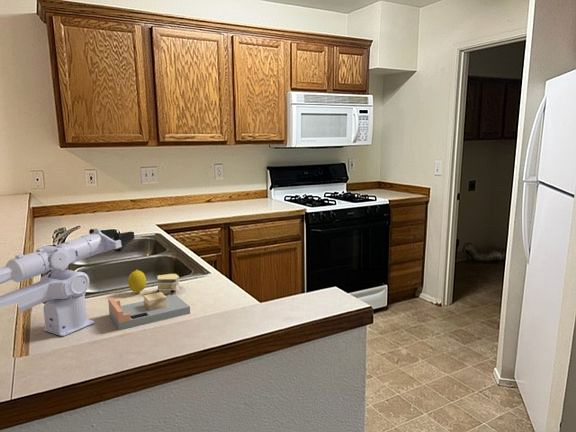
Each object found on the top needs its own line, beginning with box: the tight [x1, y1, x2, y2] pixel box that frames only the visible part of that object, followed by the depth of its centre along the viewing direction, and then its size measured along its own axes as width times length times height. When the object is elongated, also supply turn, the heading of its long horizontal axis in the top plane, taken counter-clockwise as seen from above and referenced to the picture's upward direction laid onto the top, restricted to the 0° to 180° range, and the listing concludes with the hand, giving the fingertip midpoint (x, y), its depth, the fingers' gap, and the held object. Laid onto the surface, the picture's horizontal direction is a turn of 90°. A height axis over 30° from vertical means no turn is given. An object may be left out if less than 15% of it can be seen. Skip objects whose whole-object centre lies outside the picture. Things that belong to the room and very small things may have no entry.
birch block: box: [143, 292, 167, 311], centre depth 121 cm, size 5×5×3 cm
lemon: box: [127, 269, 147, 294], centre depth 137 cm, size 6×6×8 cm
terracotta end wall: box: [107, 297, 131, 323], centre depth 116 cm, size 3×12×3 cm, turn 34°
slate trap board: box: [108, 294, 191, 331], centre depth 121 cm, size 20×12×2 cm, turn 124°
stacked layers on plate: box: [156, 273, 181, 295], centre depth 139 cm, size 10×9×6 cm
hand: (124, 233), depth 126 cm, fingers open, 7 cm apart
